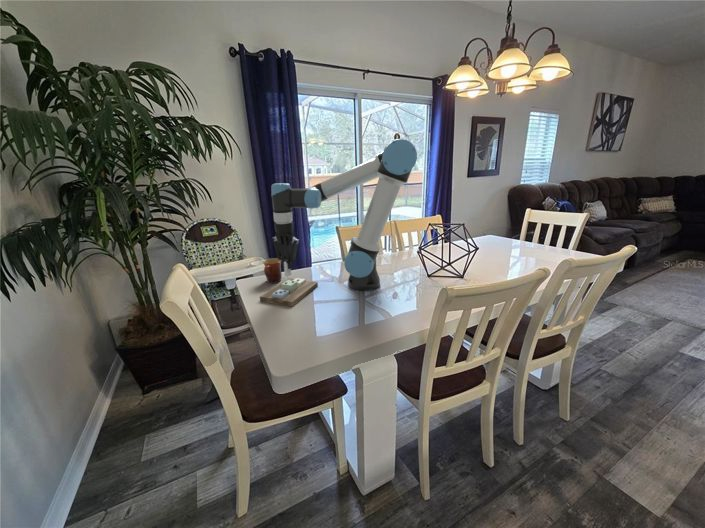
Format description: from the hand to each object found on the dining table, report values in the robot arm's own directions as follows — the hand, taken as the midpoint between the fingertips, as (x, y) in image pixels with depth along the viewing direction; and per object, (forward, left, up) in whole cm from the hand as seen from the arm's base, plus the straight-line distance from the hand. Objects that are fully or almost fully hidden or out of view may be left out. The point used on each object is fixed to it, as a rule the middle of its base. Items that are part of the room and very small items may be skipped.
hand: (288, 275), depth 126 cm
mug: (+16, -9, -9) cm, 20 cm away
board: (0, 0, -9) cm, 9 cm away
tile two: (0, 0, -7) cm, 7 cm away
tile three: (0, +7, -8) cm, 11 cm away
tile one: (0, -7, -8) cm, 11 cm away
